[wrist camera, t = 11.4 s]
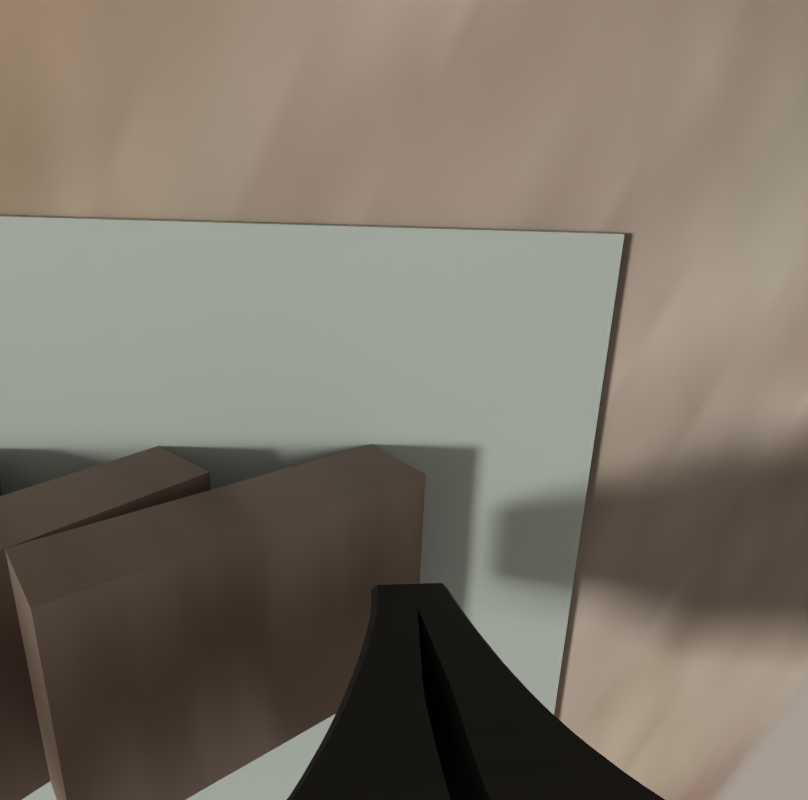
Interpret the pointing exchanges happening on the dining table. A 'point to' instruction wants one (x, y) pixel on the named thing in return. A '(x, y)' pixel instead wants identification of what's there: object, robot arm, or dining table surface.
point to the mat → (329, 388)
